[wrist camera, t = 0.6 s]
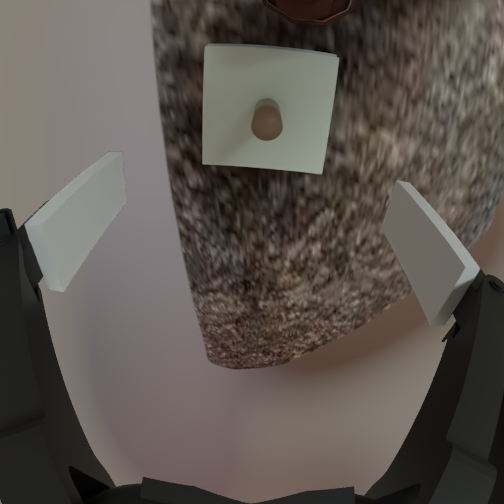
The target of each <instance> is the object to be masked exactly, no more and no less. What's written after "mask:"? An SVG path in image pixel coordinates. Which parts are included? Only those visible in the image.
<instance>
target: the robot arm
mask: <svg viewBox="0 0 504 504" xmlns="http://www.w3.org/2000/svg"><path fill="white" fill-rule="evenodd" d="M126 203H127V198H126V189H125V179H124V168H123V157H122V152H107V153H106V154H105V155H104V156H102V157H101V158H99V159H98V160H97V161H96V162H94V163H93V164H92V165H90V166H89V167H88V168H87V169H85V170H84V171H83V172H82V173H80V174H79V175H78V176H77V177H75V178H74V179H73V180H72V181H71V182H70V183H68V184H67V185H66V186H65V187H64V188H63V189H62V190H60V191H59V192H58V193H57V194H56V195H55V196H54V197H53V198H51V199H50V200H48V201H47V202H45V203H44V204H43V205H42V206H41V207H40V208H39V210H37V211H36V212H35V213H34V215H32V216H31V217H30V218H29V219H28V220H27V221H26V222H25V223H24V224H23V225H22V226H21V227H20V228H19V229H18V230H17V227H16V224H15V220H14V217H13V214H12V211H11V209H8V208H5V209H0V500H1V503H2V504H250V503H244V502H241V501H237V500H233V499H230V498H227V497H224V496H221V495H217V494H214V493H212V492H209V491H206V490H203V489H200V488H197V487H195V486H188V485H182V484H176V483H169V482H165V481H160V480H155V479H150V478H146V477H143V481H142V484H129V485H122V486H118V487H116V486H115V484H114V482H113V481H112V479H111V478H110V476H109V474H108V473H107V471H106V470H105V468H104V467H103V466H102V465H101V463H100V462H99V461H98V459H97V458H96V456H95V455H94V453H93V451H92V449H91V447H90V445H89V443H88V441H87V439H86V437H85V434H84V432H83V430H82V427H81V425H80V423H79V420H78V418H77V415H76V413H75V410H74V408H73V405H72V403H71V400H70V397H69V395H68V392H67V389H66V386H65V383H64V380H63V377H62V374H61V371H60V367H59V364H58V361H57V357H56V354H55V350H54V347H53V343H52V340H51V335H50V331H49V327H48V323H47V318H46V314H45V309H44V304H43V299H42V294H41V290H40V288H39V285H38V283H39V282H40V280H41V279H42V277H43V278H44V281H45V283H46V286H47V288H48V289H49V290H54V291H59V292H64V291H65V290H66V288H67V287H68V285H69V283H70V282H71V280H72V279H73V277H74V275H75V274H76V272H77V271H78V269H79V268H80V266H81V265H82V263H83V262H84V261H85V259H86V258H87V256H88V254H89V253H90V252H91V250H92V249H93V247H94V246H95V245H96V243H97V242H98V240H99V239H100V238H101V236H102V235H103V233H104V232H105V231H106V229H107V228H108V227H109V225H110V224H111V222H112V221H113V220H114V219H115V217H116V216H117V215H118V213H119V212H120V211H121V210H122V208H123V207H124V206H125V204H126ZM381 229H382V231H383V232H384V234H385V236H386V238H387V239H388V241H389V243H390V245H391V247H392V249H393V250H394V252H395V254H396V256H397V258H398V260H399V262H400V264H401V266H402V268H403V270H404V272H405V274H406V276H407V278H408V280H409V282H410V284H411V286H412V288H413V290H414V292H415V294H416V296H417V298H418V300H419V302H420V305H421V307H422V309H423V311H424V313H425V315H426V318H427V320H428V322H429V325H430V326H432V325H445V324H446V322H447V321H448V320H449V318H450V317H451V315H452V314H453V315H454V317H455V319H456V322H455V323H454V325H453V326H452V328H451V329H450V330H449V332H448V333H447V334H446V336H445V337H444V338H443V340H442V342H444V341H445V340H446V339H448V340H447V343H446V346H445V349H444V352H443V354H442V357H441V361H440V363H439V365H438V368H437V371H436V373H435V376H434V378H433V381H432V383H431V386H430V388H429V391H428V393H427V395H426V398H425V400H424V402H423V404H422V406H421V409H420V411H419V413H418V415H417V417H416V419H415V421H414V423H413V425H412V427H411V429H410V431H409V433H408V435H407V437H406V439H405V441H404V442H403V444H402V446H401V448H400V450H399V452H398V453H397V455H396V457H395V458H394V460H393V462H392V464H391V465H390V467H389V469H388V470H387V472H386V473H385V474H384V475H383V476H382V477H381V478H380V479H379V480H378V481H377V482H376V483H375V484H374V485H373V486H372V487H371V488H370V489H369V490H368V492H367V493H366V494H365V495H364V496H362V495H357V494H354V486H353V487H346V488H337V489H328V490H316V491H305V492H301V493H298V494H294V495H290V496H286V497H282V498H278V499H273V500H269V501H264V502H259V503H252V504H504V283H503V282H502V281H501V280H499V279H498V278H497V277H495V276H493V275H485V274H484V273H483V271H482V270H481V268H480V267H479V266H478V264H477V263H476V261H475V260H474V259H473V258H472V257H471V255H470V253H469V252H468V251H467V249H466V248H465V247H464V245H463V244H462V243H461V242H460V241H459V239H458V238H457V237H456V236H455V234H454V233H453V232H452V231H451V229H450V228H449V227H448V226H447V225H446V223H445V222H444V221H443V220H442V219H441V217H440V216H439V215H438V214H437V213H436V212H435V210H434V209H433V208H432V207H431V206H430V205H429V204H428V203H427V201H426V200H425V199H424V198H423V197H422V196H421V195H420V194H419V193H418V192H417V190H416V189H415V188H414V187H413V186H412V185H411V184H410V183H407V182H403V181H398V180H397V181H396V184H395V187H394V190H393V194H392V197H391V200H390V203H389V206H388V209H387V212H386V215H385V218H384V221H383V224H382V226H381Z"/></svg>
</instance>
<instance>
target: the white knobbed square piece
mask: <svg viewBox="0 0 504 504" xmlns="http://www.w3.org/2000/svg"><path fill="white" fill-rule="evenodd" d="M338 65H339V58H337V57H331V56H326V55H320V54H313V53H306V52H299V51H291V50H282V49H271V48H257V47H236V46H205V52H204V79H203V131H202V164H208V165H226V166H242V167H255V168H267V169H278V170H288V171H298V172H307V173H315V174H322V170H323V165H324V159H325V153H326V147H327V141H328V135H329V129H330V122H331V116H332V109H333V102H334V95H335V88H336V80H337V73H338Z"/></svg>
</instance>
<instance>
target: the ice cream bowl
mask: <svg viewBox="0 0 504 504" xmlns="http://www.w3.org/2000/svg"><path fill="white" fill-rule="evenodd" d="M262 2H263V4H264V5H265V6H266V7H268V8H270V9H271V10H273V11H274V12H276V13H278V14H279V15H281V16H282V17H284V18H285V19H287V20H288V21H290V22H291V23H303V24H315V25H327V24H329V23H331V22H333V21H335V20H337V19H339V18H341V17H343V16H345V15H347V14H350V13H352V10H353V8H354V5H355V3H356V0H262Z"/></svg>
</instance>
